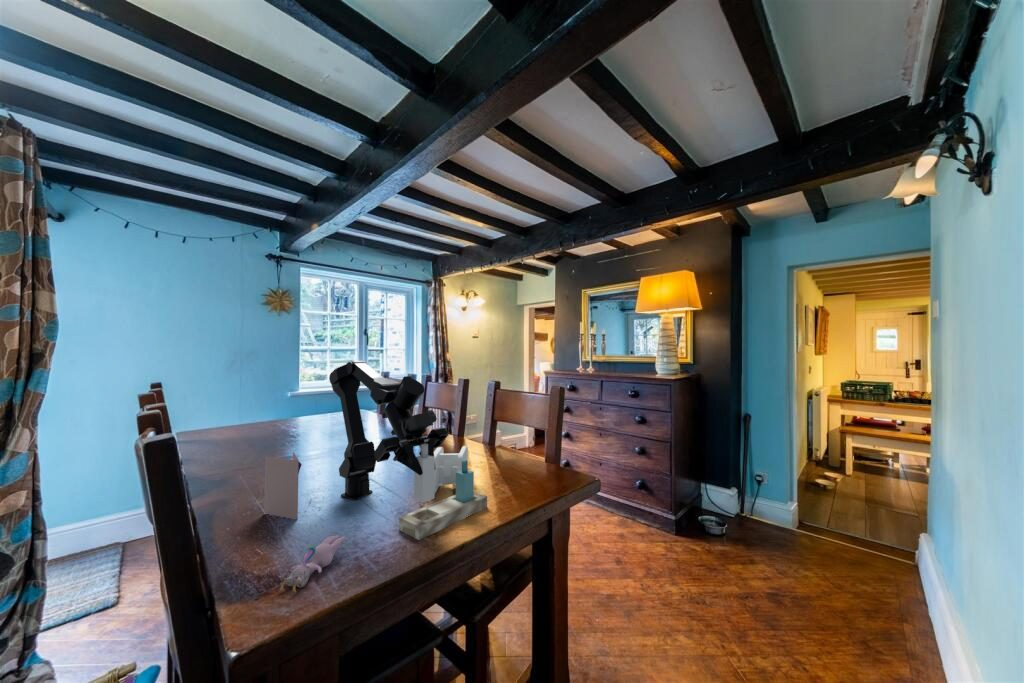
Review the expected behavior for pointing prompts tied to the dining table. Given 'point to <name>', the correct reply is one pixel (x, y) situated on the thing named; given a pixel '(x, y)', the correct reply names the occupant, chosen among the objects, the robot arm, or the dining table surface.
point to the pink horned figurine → (313, 562)
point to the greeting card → (281, 486)
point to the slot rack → (439, 515)
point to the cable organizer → (448, 466)
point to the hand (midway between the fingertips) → (427, 472)
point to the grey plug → (425, 476)
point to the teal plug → (464, 484)
